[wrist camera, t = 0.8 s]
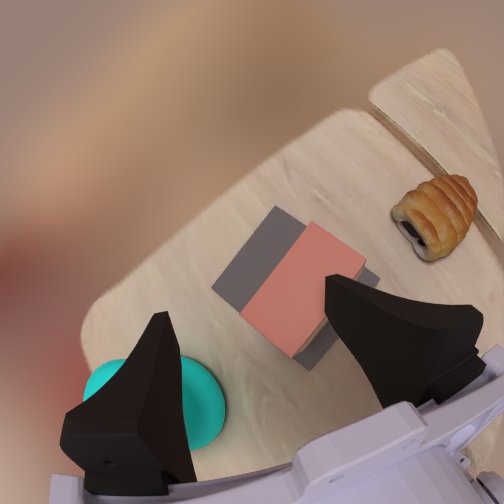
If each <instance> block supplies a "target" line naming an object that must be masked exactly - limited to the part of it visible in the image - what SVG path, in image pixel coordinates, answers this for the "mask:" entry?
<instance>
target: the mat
mask: <svg viewBox="0 0 504 504" xmlns="http://www.w3.org/2000/svg"><path fill="white" fill-rule="evenodd" d="M306 228H307V226H306V225H304V224H303V223H301V222H300V221H298V220H297V219H295V218H294V217H292V216H291V215H289V214H288V213H286V212H285V211H283V210H282V209H280V208H279V207H277V206H276V205H275V206H274V208H273V209H272V210H271V211H270V213H269V214H268V215H267V216H266V218H265V219H264V220H263V222H262V223H261V224H260V225H259V227H258V228H257V229H256V230H255V232H254V233H253V234H252V236H251V237H250V238H249V239H248V241H247V242H246V243H245V245H244V246H243V247H242V248H241V250H240V251H239V252H238V254H237V255H236V256H235V257H234V259H233V260H232V261H231V263H230V264H229V265H228V266H227V268H226V269H225V270H224V272H223V273H222V274H221V275H220V277H219V278H218V279H217V281H216V282H215V283H214V285H213V286H212V287H211V288H212V289H213V290H214V291H215V292H216V293H217V294H219V295H220V296H221V297H222V298H223V299H224V300H225V301H226V302H228V303H229V304H230V305H231V306H232V307H233V308H234V309H236V310H237V311H238V312H239V313H241V311H242V310H243V309H244V308H245V306H246V305H247V304H248V303H249V301H250V300H251V299H252V297H253V296H254V295H255V294H256V292H257V291H258V290H259V289H260V287H261V286H262V285H263V283H264V282H265V281H266V280H267V278H268V277H269V276H270V274H271V273H272V272H273V271H274V269H275V268H276V267H277V265H278V264H279V263H280V262H281V260H282V259H283V258H284V256H285V255H286V254H287V252H288V251H289V250H290V249H291V247H292V246H293V245H294V243H295V242H296V241H297V239H298V238H299V237H300V235H301V234H302V233H303V231H304V230H305V229H306ZM380 279H381V278H379V277H378V276H377V275H375V274H374V273H372V272H371V271H370V270H368V269H367V268H366V267H363V270H362V272H361V275H360V277H359V280H358V282H360V283H362V284H365V285H367V286H370V287H372V288H374V287H375V286H376V284H377V283H378V281H379V280H380ZM337 337H338V334H337V333H336V332H335V330H334V329H333V327H332V326H331V324H330V322H329V321H328V322H327V324H326V325H325V326H324V327H323V329H322V330H321V331H320V333H319V334H318V335H317V336H316V337H315V339H314V340H313V341H312V342H311V344H310V345H309V346H308V347H307V348H306V349H304V350H303V351H301V352H300V353H298V354H297V355H295V356H294V357H293V358H294V359H295V360H296V361H298V362H299V363H300V364H301V365H303V366H304V367H305V368H306V369H308V370H309V371H310V370H311V369H312V368H313V367H314V365H315V364H316V363H317V362H318V361H319V359H320V358H321V357H322V356H323V355H324V353H325V352H326V351H327V350H328V349H329V347H330V346H331V345H332V344H333V342H334V341H335V340H336V339H337Z"/></svg>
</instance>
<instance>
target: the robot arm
mask: <svg viewBox="0 0 504 504" xmlns="http://www.w3.org/2000/svg"><path fill="white" fill-rule="evenodd" d="M324 313H325V315H326V316H327V318H328V320H329V322H330V324H331V326H332V327H333V329H334V330H335V332H336V333H337V334H338V336H339V337H340V338H341V340H342V341H343V342H344V344H345V345H346V346H347V348H348V349H349V350H350V352H351V353H352V354H353V356H354V357H355V358H356V360H357V361H358V363H359V364H360V365H361V367H362V369H363V371H364V372H365V374H366V376H367V378H368V379H369V381H370V383H371V385H372V387H373V389H374V391H375V393H376V395H377V397H378V399H379V401H380V403H381V405H382V408H383V409H382V410H380V411H378V412H376V413H374V414H372V415H369V416H367V417H365V418H363V419H360V420H358V421H356V422H353V423H351V424H348V425H346V426H343V427H341V428H338V429H336V430H333V431H331V432H328V433H325V434H323V435H321V436H319V437H317V438H315V439H312V440H310V441H309V442H308V443H306V444H305V445H303V446H302V447H301V448H299V449H298V451H297V453H296V454H295V456H294V458H293V460H292V462H289V463H286V464H282V465H279V466H275V467H271V468H267V469H263V470H259V471H255V472H251V473H246V474H242V475H237V476H231V477H226V478H220V479H214V480H208V481H201V482H197V478H196V475H195V471H194V467H193V462H192V458H191V454H190V449H189V444H188V439H187V434H186V428H185V422H184V415H183V401H182V363H181V355H180V348H179V344H178V341H177V338H176V335H175V332H174V329H173V326H172V323H171V320H170V317H169V314H168V311H165V312H160V313H154V315H153V316H152V318H151V320H150V322H149V323H148V325H147V327H146V329H145V331H144V333H143V334H142V336H141V338H140V339H139V341H138V343H137V344H136V346H135V348H134V349H133V351H132V352H131V354H130V355H129V357H128V358H127V359H126V361H125V362H124V363H123V365H122V366H121V367H120V368H119V369H118V371H117V372H116V373H115V374H114V375H113V376H112V377H111V378H110V379H109V380H108V381H107V382H106V383H105V384H104V385H103V386H102V387H101V388H100V389H99V390H98V391H97V392H95V393H94V394H93V395H92V396H90V397H89V398H88V399H87V400H85V401H84V402H83V403H81V404H80V405H78V406H77V407H75V408H74V409H72V410H71V411H69V412H67V413H66V415H65V419H64V423H63V428H62V433H61V439H60V447H61V449H62V450H63V452H64V453H65V454H66V455H67V456H68V457H69V458H70V459H71V460H72V461H74V462H75V463H76V464H77V465H78V466H79V467H81V468H82V469H83V470H84V471H85V479H84V478H82V477H79V476H75V475H66V474H56V473H53V474H52V479H51V487H50V497H49V504H504V480H503V479H502V478H501V477H500V476H499V475H498V474H497V473H495V472H493V471H492V472H485V471H483V472H481V473H480V474H479V475H478V476H477V477H476V479H477V481H478V482H477V481H475V480H474V479H473V478H472V476H471V475H470V474H469V473H468V472H467V471H466V469H467V468H468V467H469V466H470V464H471V460H470V459H469V458H468V457H466V456H465V455H463V454H462V453H460V452H459V451H461V450H462V449H463V448H464V447H465V446H467V445H468V444H469V443H470V442H471V441H472V440H473V439H474V438H476V437H477V436H478V435H479V434H480V433H481V432H482V431H483V430H484V429H485V428H486V427H487V426H488V425H490V424H491V423H492V422H493V421H494V420H495V419H496V418H497V417H498V416H499V415H500V414H501V413H502V412H503V411H504V349H503V348H502V347H501V346H500V345H498V344H497V345H495V346H494V347H493V348H491V349H490V350H489V351H488V352H486V353H485V354H484V355H483V357H482V358H479V357H478V356H477V354H478V353H479V350H478V349H477V348H476V347H475V344H476V342H477V339H478V337H479V334H480V332H481V329H482V326H483V314H482V313H481V312H480V311H478V310H477V309H476V308H475V307H473V306H472V305H444V304H433V303H425V302H419V301H414V300H410V299H406V298H402V297H398V296H395V295H391V294H389V293H386V292H383V291H380V290H377V289H375V288H372V287H370V286H367V285H365V284H362V283H360V282H357V281H355V280H353V279H350V278H348V277H345V276H342V275H340V274H333V275H329V276H325V307H324ZM462 458H463V460H462V461H460V460H461V459H462Z"/></svg>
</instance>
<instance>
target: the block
mask: <svg viewBox="0 0 504 504" xmlns="http://www.w3.org/2000/svg"><path fill="white" fill-rule="evenodd" d="M366 260H367V259H366V258H364V257H363V256H362V255H360V254H359V253H357V252H356V251H355V250H353V249H352V248H350V247H349V246H348V245H346V244H345V243H343V242H342V241H340V240H339V239H337V238H336V237H335V236H333V235H332V234H330V233H329V232H327V231H326V230H324V229H323V228H321V227H320V226H318V225H317V224H315V223H314V222H312V221H311V222H310V224H309V225H308V226H307V228H306V229H305V230H304V231H303V233H302V234H301V235H300V237H299V238H298V239H297V241H296V242H295V243H294V245H293V246H292V247H291V249H290V250H289V251H288V252H287V254H286V255H285V256H284V258H283V259H282V260H281V262H280V263H279V264H278V265H277V267H276V268H275V269H274V271H273V272H272V273H271V274H270V276H269V277H268V278H267V280H266V281H265V282H264V283H263V285H262V286H261V287H260V289H259V290H258V291H257V292H256V294H255V295H254V296H253V297H252V299H251V300H250V301H249V303H248V304H247V305H246V306H245V308H244V309H243V310H242V311H241V313H240V314H239V315H240V316H241V317H242V318H244V319H245V320H246V321H247V322H248V323H249V324H251V325H252V326H253V327H254V328H255V329H256V330H258V331H259V332H260V333H261V334H262V335H264V336H265V337H266V338H267V339H268V340H270V341H271V342H272V343H273V344H274V345H276V346H277V347H278V348H279V349H280V350H282V351H283V352H284V353H285V354H286V355H288V356H289V357H290V358H292V357H294V356H295V355H297V354H298V353H300V352H301V351H303V350H304V349H306V348H307V347H308V346H309V345H310V344H311V342H312V341H313V340H314V339H315V337H316V336H317V335H318V334H319V333H320V331H321V330H322V329H323V327H324V326H325V325H326V324H327V322H328V321H329V320H328V318H327V316H326V315H325V313H324V307H325V276H329V275H333V274H340V275H342V276H345V277H348V278H350V279H353V280H355V281H357V282H358V280H359V277H360V275H361V272H362V270H363V267H364V265H365V262H366Z"/></svg>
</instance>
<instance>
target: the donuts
mask: <svg viewBox="0 0 504 504" xmlns="http://www.w3.org/2000/svg"><path fill="white" fill-rule="evenodd" d="M125 361H126V359H119V360H113V361H109V362H107V363H105V364H103V365H101V366H100V367H99V368H97V369H96V370H95V371H94V373H93V374H92V375H91V377H90V378H89V380H88V382H87V385H86V388H85V392H84V400H83V402H84V401H85V400H87V399H88V398H89V397H90V396H92V395H93V394H94V393H95V392H97V391H98V390H99V389H100V388H101V387H102V386H103V385H104V384H105V383H106V382H107V381H108V380H109V379H110V378H111V377H112V376H113V375H114V374H115V373H116V372H117V371H118V369H119V368H120V367H121V366H122V365H123V363H124V362H125ZM181 363H182V401H183V415H184V422H185V428H186V434H187V439H188V444H189V449H190V450H195V449H199V448H202V447H204V446H206V445H208V444H209V443H210V442H212V441H213V440H214V439H215V438H216V437H217V435H218V434H219V432H220V431H221V429H222V426H223V423H224V420H225V401H224V397H223V394H222V391H221V389H220V387H219V385H218V383H217V381H216V380H215V379H214V377H213V376H212V375H211V374H210V372H209V371H208V370H206V369H205V368H204V367H203V366H202V365H200V364H199V363H197V362H195V361H194V360H191V359H189V358H186V357H183V356H181Z"/></svg>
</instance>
